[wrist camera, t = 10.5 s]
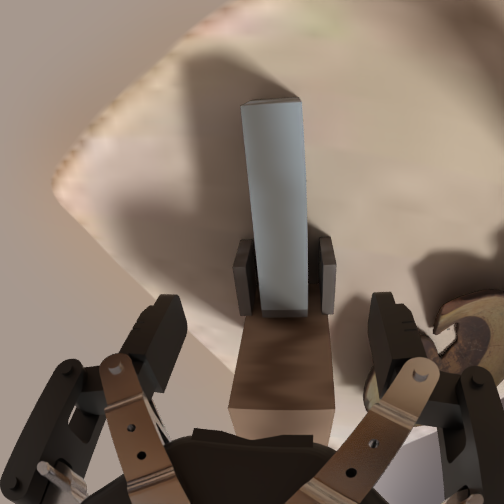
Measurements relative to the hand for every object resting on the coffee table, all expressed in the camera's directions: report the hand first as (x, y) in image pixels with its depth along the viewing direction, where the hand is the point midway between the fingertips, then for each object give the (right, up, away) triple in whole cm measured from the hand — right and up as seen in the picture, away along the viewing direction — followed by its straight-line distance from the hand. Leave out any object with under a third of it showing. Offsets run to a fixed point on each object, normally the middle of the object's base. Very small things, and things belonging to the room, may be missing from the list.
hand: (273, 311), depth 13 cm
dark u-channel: (+3, -2, +18) cm, 19 cm away
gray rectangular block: (+2, +7, +13) cm, 15 cm away
